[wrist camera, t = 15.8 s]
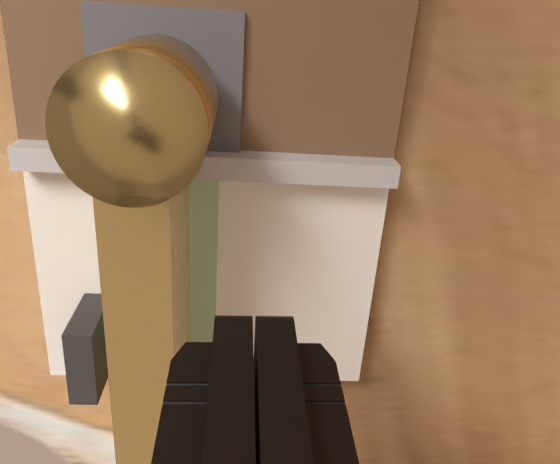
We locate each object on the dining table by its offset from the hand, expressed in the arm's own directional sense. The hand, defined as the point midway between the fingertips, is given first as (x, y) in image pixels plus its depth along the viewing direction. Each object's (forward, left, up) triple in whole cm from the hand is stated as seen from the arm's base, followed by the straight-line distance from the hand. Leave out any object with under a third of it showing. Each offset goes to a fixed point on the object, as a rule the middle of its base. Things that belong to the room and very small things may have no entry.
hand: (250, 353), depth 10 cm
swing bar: (+2, -3, -8) cm, 9 cm away
